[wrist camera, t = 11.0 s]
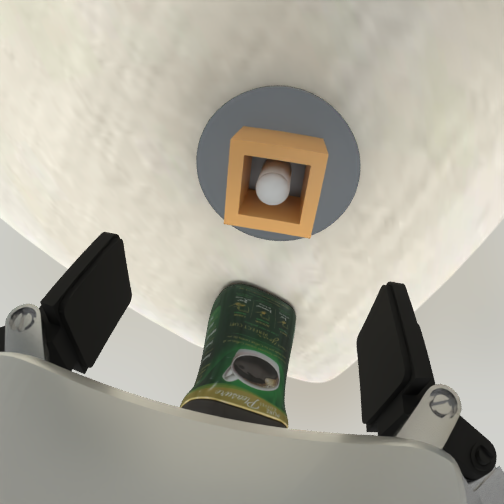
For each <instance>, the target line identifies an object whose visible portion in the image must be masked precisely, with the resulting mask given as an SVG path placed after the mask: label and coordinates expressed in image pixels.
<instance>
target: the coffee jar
mask: <svg viewBox="0 0 504 504" xmlns="http://www.w3.org/2000/svg"><path fill="white" fill-rule="evenodd" d="M295 323H296V315H295V312H294V310H293V309H292V308H291V307H290V306H289V305H288V304H286V303H285V302H283V301H282V300H280V299H278V298H276V297H274V296H273V295H270V294H268V293H266V292H264V291H261V290H259V289H256V288H254V287H251V286H248V285H244V284H236V285H232V286H229V287H227V288H225V289H224V290H223V291H222V292H221V293H220V294H219V296H218V297H217V299H216V300H215V302H214V304H213V307H212V310H211V314H210V317H209V322H208V327H207V333H206V339H205V345H204V350H203V355H202V360H201V365H200V369H199V372H198V375H197V379H196V382H195V385H194V387H193V388H192V389H191V390H190V391H189V393H188V394H187V395H186V396H185V398H184V399H183V401H182V403H181V405H180V408H183V409H187V410H191V411H195V412H200V413H204V414H208V415H213V416H217V417H222V418H227V419H232V420H237V421H243V422H248V423H254V424H260V425H267V426H273V427H280V428H288V419H287V414H286V410H285V404H284V396H285V384H286V377H287V370H288V364H289V358H290V353H291V348H292V343H293V338H294V332H295Z"/></svg>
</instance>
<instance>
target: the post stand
mask: <svg viewBox="0 0 504 504" xmlns="http://www.w3.org/2000/svg"><path fill="white" fill-rule="evenodd" d="M243 126H247V127H255V128H262V129H269V130H276V131H283V132H289V133H295V134H301V135H306V136H312V137H317V138H323V139H324V142H325V145H326V148H327V151H328V154H329V155H328V160H327V165H326V170H325V174H324V179H323V184H322V189H321V193H320V198H319V202H318V207H317V211H316V216H315V220H314V225H313V229H312V233H311V235H314V234H316V233H318V232H320V231H322V230H324V229H325V228H327V227H328V226H330V225H331V224H332V223H334V222H335V221H336V220H337V219H338V218H339V217H340V216H341V215H342V214H343V213H344V212H345V210H346V209H347V207H348V206H349V204H350V203H351V201H352V199H353V197H354V195H355V192H356V189H357V186H358V182H359V177H360V156H359V151H358V147H357V143H356V140H355V138H354V135H353V133H352V131H351V130H350V128H349V126H348V124H347V123H346V122H345V120H344V119H343V118H342V117H341V115H340V114H339V113H338V112H337V111H336V110H335V109H334V108H333V107H332V106H331V105H329V104H328V103H327V102H325V101H324V100H323V99H321V98H319V97H318V96H316V95H314V94H312V93H310V92H307V91H304V90H302V89H298V88H293V87H287V86H267V87H261V88H256V89H253V90H250V91H247V92H245V93H242V94H240V95H238V96H236V97H234V98H233V99H231V100H230V101H228V102H227V103H225V104H224V105H223V106H222V107H221V108H220V109H219V110H217V111H216V113H215V114H214V115H213V116H212V117H211V119H210V120H209V122H208V123H207V125H206V127H205V128H204V130H203V133H202V135H201V138H200V141H199V145H198V149H197V173H198V178H199V182H200V185H201V188H202V190H203V193H204V195H205V197H206V198H207V200H208V202H209V203H210V205H211V206H212V207H213V209H214V210H215V211H216V212H217V213H218V214H219V215H220V216H221V217H222V218H223V219H224V215H225V201H226V188H227V175H228V163H229V151H230V140H231V138H232V137H233V136H234V135H235V134H236V133H237V132H238V131H239V130H240V129H241V128H242V127H243ZM305 168H306V165H304V164H298V163H293V162H287V161H280V160H274V159H268V158H261V157H254V156H252V164H251V173H250V182H249V189H252V190H256V194H257V196H258V198H259V199H260V200H261V201H262V202H263V203H265V204H268V205H278V204H280V203H282V202H284V201H285V200H286V198H287V197H288V195H289V196H295V197H300V195H301V190H302V185H303V179H304V174H305ZM232 226H233V225H232ZM233 227H235V228H236V229H238V230H240V231H242V232H244V233H246V234H248V235H251V236H254V237H257V238H261V239H266V240H274V241H289V240H297V239H301V238H305V237H299V236H293V235H287V234H281V233H276V232H270V231H264V230H258V229H252V228H246V227H239V226H233Z"/></svg>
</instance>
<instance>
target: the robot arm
mask: <svg viewBox="0 0 504 504" xmlns="http://www.w3.org/2000/svg"><path fill="white" fill-rule="evenodd" d="M131 298H132V292H131V287H130V281H129V276H128V270H127V264H126V258H125V251H124V244H123V240H122V239H120V237H119V235H117V234H113V233H108V232H103V233H102V234H101V235H100V236H99V237H98V238H97V239H96V240H95V241H94V242H93V243H92V244H91V245H90V246H89V247H88V248H87V249H86V250H85V251H84V252H83V253H82V255H81V256H80V257H79V258H78V259H77V260H76V261H75V262H74V263H73V264H72V266H71V267H70V268H69V269H68V270H67V271H66V272H65V274H64V275H63V276H62V277H61V278H60V279H59V280H58V281H57V283H56V284H55V285H54V286H53V287H52V288H51V290H50V291H49V292H48V293H47V294H46V296H45V297H44V298H43V299H42V301H41V306H40V308H39V309H38V307H37V306H35V305H32V304H23V305H20V306H18V307H16V308H15V309H13V310H12V311H11V312H10V313H9V315H8V317H7V318H6V323H5V326H3V327H0V504H504V472H503V471H502V469H501V468H500V466H499V467H497V468H496V467H495V464H496V451H495V448H494V446H493V444H491V442H490V441H489V440H488V439H487V438H485V437H484V436H483V435H482V434H481V433H480V432H478V431H477V430H476V429H475V428H474V427H473V426H471V425H470V424H469V423H468V422H467V421H466V420H465V419H463V418H462V417H461V416H460V413H461V401H460V399H459V397H458V395H457V393H456V392H455V391H454V390H453V389H452V388H450V387H448V386H446V385H442V384H436V385H435V381H434V377H433V373H432V369H431V365H430V361H429V358H428V354H427V350H426V346H425V343H424V339H423V336H422V332H421V329H420V326H419V325H418V323H417V321H416V317H415V314H414V311H413V308H412V305H411V302H410V299H409V296H408V293H407V290H406V287H405V285H404V284H401V283H395V282H388V283H387V285H383V286H382V287H381V289H380V291H379V293H378V295H377V298H376V300H375V302H374V304H373V306H372V308H371V310H370V313H369V315H368V317H367V319H366V321H365V323H364V325H363V327H362V329H361V331H360V333H359V335H358V338H357V354H358V365H359V378H360V391H361V408H362V422H363V423H364V424H366V428H367V432H378V436H374V435H354V434H339V433H326V432H315V431H305V430H296V429H288V428H280V427H273V426H267V425H260V424H254V423H248V422H243V421H237V420H232V419H227V418H222V417H217V416H213V415H208V414H204V413H200V412H195V411H191V410H187V409H183V408H180V407H176V406H172V405H168V404H165V403H161V402H158V401H154V400H151V399H148V398H144V397H141V396H138V395H135V394H132V393H129V392H126V391H123V390H120V389H117V388H114V387H111V386H108V385H106V384H103V383H100V382H97V381H95V380H92V379H90V378H87V377H84V376H82V375H79V374H77V373H74V372H72V369H74V370H76V371H79V372H81V373H83V374H85V373H86V371H87V369H88V367H89V368H91V367H92V366H93V365H94V363H95V361H96V359H97V358H98V356H99V354H100V352H101V350H102V349H103V347H104V345H105V343H106V342H107V340H108V338H109V337H110V335H111V333H112V332H113V330H114V328H115V327H116V325H117V323H118V321H119V320H120V318H121V316H122V315H123V313H124V312H125V310H126V308H127V307H128V305H129V304H130V302H131Z"/></svg>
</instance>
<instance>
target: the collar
mask: <svg viewBox="0 0 504 504" xmlns="http://www.w3.org/2000/svg"><path fill="white" fill-rule="evenodd" d="M328 155H329V154H328V151H327V148H326V145H325V142H324V139H323V138H317V137H312V136H306V135H301V134H295V133H289V132H283V131H276V130H269V129H262V128H255V127H247V126H243V127H242V128H241V129H240V130H239V131H238V132H237V133H236V134H235V135H234V136H233V137H232V138H231V140H230V151H229V163H228V175H227V188H226V201H225V215H224V224H227V225H233V226H239V227H246V228H252V229H258V230H264V231H270V232H276V233H281V234H287V235H293V236H299V237H305V238H310V237H311V233H312V229H313V225H314V220H315V216H316V211H317V207H318V202H319V198H320V193H321V189H322V184H323V179H324V174H325V170H326V165H327V160H328ZM252 156H254V157H261V158H268V159H274V160H280V161H287V162H293V163H298V164H304V165H306V168H305V174H304V179H303V185H302V190H301V195H300V197H295V196H289V195H288V197H287V198H286V200H285V201H284V202H282V203H280V204H278V205H268V204H265V203H263V202H262V201H261V200H260V199H259V198H258V196H257V194H256V190H252V189H249V182H250V173H251V164H252Z"/></svg>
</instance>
